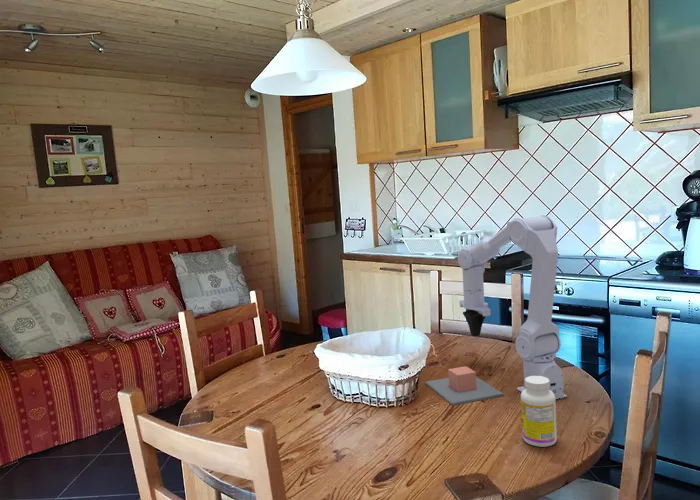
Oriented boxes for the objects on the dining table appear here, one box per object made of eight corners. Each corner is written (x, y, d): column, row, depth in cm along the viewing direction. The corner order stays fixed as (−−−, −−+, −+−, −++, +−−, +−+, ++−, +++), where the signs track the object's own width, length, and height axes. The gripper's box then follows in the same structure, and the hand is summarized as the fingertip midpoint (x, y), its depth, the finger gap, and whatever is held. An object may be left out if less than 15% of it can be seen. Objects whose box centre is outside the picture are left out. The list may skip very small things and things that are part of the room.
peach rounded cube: (476, 389, 133) (475, 372, 132) (458, 392, 131) (457, 375, 131) (466, 382, 138) (466, 366, 137) (449, 385, 136) (448, 369, 136)
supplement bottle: (529, 430, 110) (527, 371, 109) (561, 437, 106) (559, 376, 104) (517, 442, 105) (514, 381, 103) (550, 451, 100) (548, 387, 99)
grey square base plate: (503, 395, 129) (502, 381, 128) (452, 405, 125) (451, 391, 125) (471, 375, 144) (471, 363, 144) (425, 383, 141) (424, 371, 140)
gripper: (499, 291, 143) (501, 339, 144) (473, 284, 157) (475, 328, 158) (476, 294, 141) (478, 343, 143) (452, 287, 155) (454, 331, 156)
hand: (475, 335), depth 150 cm, fingers closed
